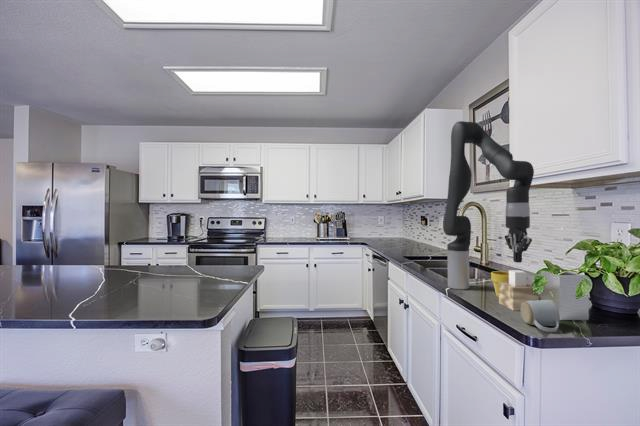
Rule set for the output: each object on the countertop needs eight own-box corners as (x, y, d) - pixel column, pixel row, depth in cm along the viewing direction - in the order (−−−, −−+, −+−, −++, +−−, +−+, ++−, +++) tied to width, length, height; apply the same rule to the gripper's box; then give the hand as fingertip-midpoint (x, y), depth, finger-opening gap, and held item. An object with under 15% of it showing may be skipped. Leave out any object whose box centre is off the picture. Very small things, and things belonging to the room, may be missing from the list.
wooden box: (499, 303, 119) (498, 282, 119) (522, 302, 119) (522, 282, 119) (513, 310, 110) (513, 287, 110) (538, 310, 110) (538, 287, 110)
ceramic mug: (518, 320, 101) (518, 296, 101) (546, 320, 100) (546, 296, 100) (537, 333, 90) (536, 306, 90) (567, 334, 89) (567, 307, 89)
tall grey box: (540, 311, 109) (540, 271, 109) (566, 310, 109) (566, 270, 109) (560, 320, 100) (559, 276, 100) (588, 319, 100) (588, 276, 100)
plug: (509, 294, 117) (508, 270, 117) (522, 294, 117) (521, 270, 117) (515, 297, 113) (515, 272, 113) (528, 297, 113) (528, 272, 113)
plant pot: (512, 293, 132) (512, 270, 132) (526, 300, 122) (525, 275, 122) (487, 293, 133) (486, 270, 133) (498, 300, 123) (498, 275, 123)
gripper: (497, 215, 121) (497, 259, 122) (518, 215, 108) (518, 265, 108) (516, 214, 121) (516, 259, 121) (540, 215, 108) (540, 265, 108)
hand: (517, 262), depth 115 cm, fingers closed
